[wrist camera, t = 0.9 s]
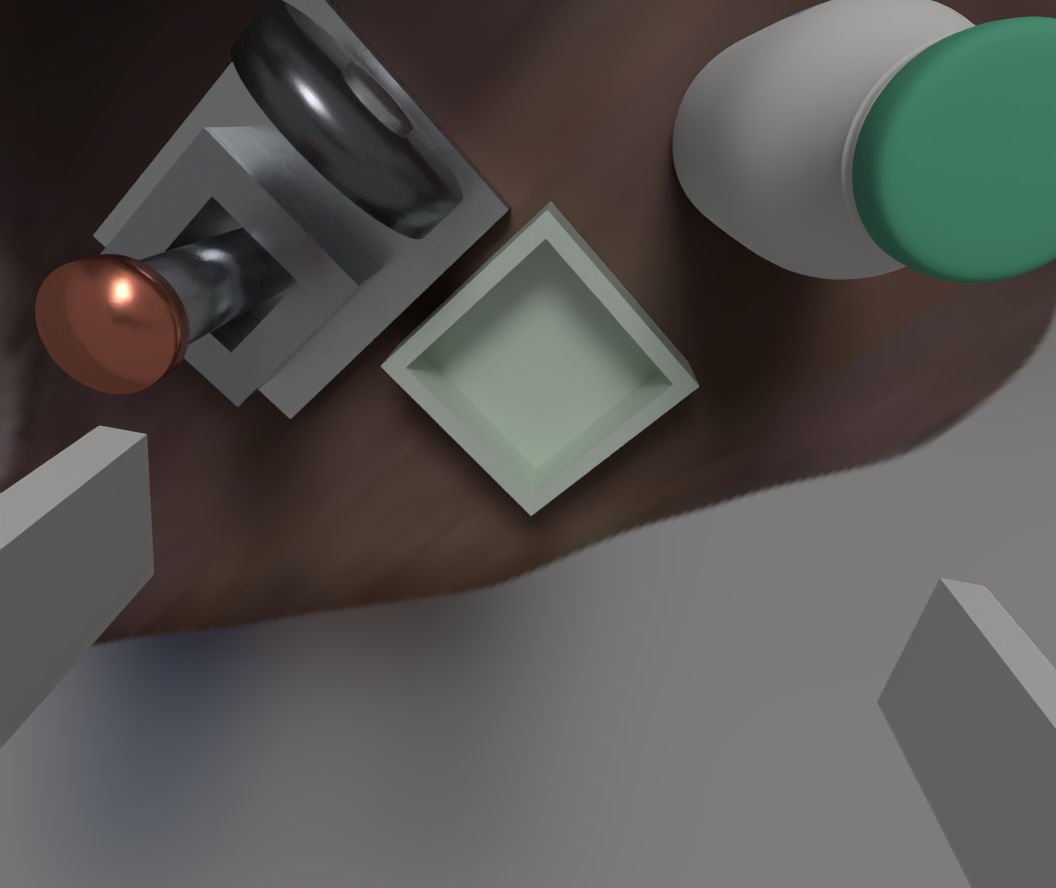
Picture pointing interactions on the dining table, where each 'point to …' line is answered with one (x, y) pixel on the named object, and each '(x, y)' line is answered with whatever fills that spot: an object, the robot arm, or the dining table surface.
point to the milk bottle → (879, 142)
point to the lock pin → (149, 307)
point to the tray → (541, 363)
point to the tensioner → (308, 199)
